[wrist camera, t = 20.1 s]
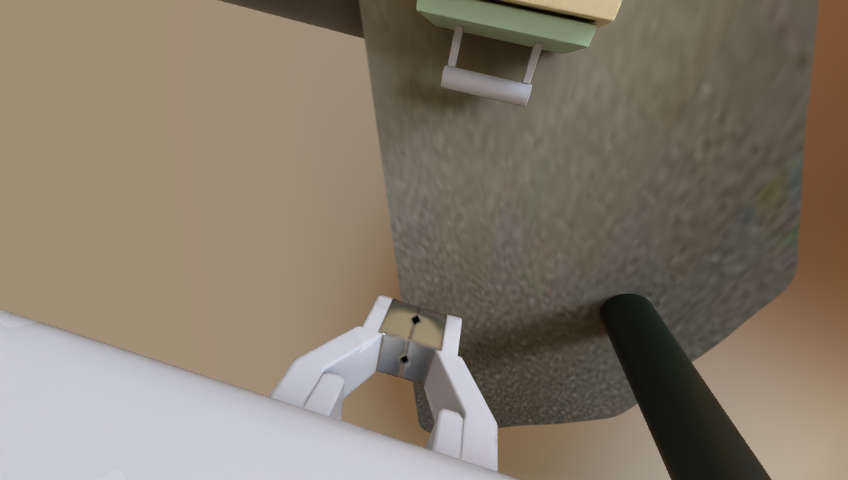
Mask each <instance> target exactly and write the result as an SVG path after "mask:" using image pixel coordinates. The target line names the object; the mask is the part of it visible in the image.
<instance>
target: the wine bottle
mask: <svg viewBox="0 0 848 480" xmlns="http://www.w3.org/2000/svg"><path fill="white" fill-rule="evenodd" d="M600 318H601V320H602V322H603V325H604V327H605V329H606V332H607V334H608V336H609V338H610V341H611V343H612V345H613V348H614V350H615V352H616V354H617V357H618V359H619V361H620V364H621V366H622V368H623V370H624V373H625V375H626V377H627V380H628V382H629V384H630V386H631V389H632V391H633V393H634V395H635V398H636V400H637V402H638V405H639V407H640V409H641V411H642V414H643V416H644V418H645V420H646V423H647V425H648V427H649V430H650V432H651V434H652V436H653V439H654V441H655V443H656V446H657V448H658V450H659V453H660V455H661V457H662V459H663V462H664V464H665V466H666V468H667V471H668V473H669V475H670V478H671V480H771V478H770V477H769V475H768V474H767V473H766V471H765V469H764V468H763V466H762V465H761V464H760V462H759V461H758V459H757V458H756V456H755V455H754V453H753V452H752V450H751V449H750V448H749V446H748V445H747V443H746V442H745V440H744V439H743V437H742V436H741V434H740V433H739V431H738V430H737V428H736V427H735V425H734V424H733V423H732V421H731V420H730V418H729V417H728V415H727V414H726V412H725V411H724V409H723V408H722V407H721V405H720V404H719V402H718V401H717V399H716V398H715V396H714V395H713V393H712V392H711V390H710V389H709V388H708V386H707V385H706V383H705V382H704V380H703V379H702V377H701V376H700V374H699V373H698V372H697V370H696V368H695V367H694V366H693V364H692V363H691V361H690V360H689V358H688V357H687V355H686V354H685V352H684V351H683V349H682V348H681V347H680V345H679V344H678V342H677V341H676V339H675V338H674V336H673V335H672V333H671V332H670V330H669V329H668V328H667V326H666V325H665V323H664V322H663V320H662V319H661V317H660V316H659V314H658V313H657V311H656V310H655V309H654V307H653V306H652V304H651V303H650V302H649V301H648V300H647V299H646V298H644V297H642V296H639V295H635V294H623V295H619V296H616V297H613V298H611V299H609V300H608V301H607V302H606V303H605V304H604V305H603V306H602V308H601V310H600Z"/></svg>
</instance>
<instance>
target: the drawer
mask: <svg viewBox="0 0 848 480" xmlns="http://www.w3.org/2000/svg"><path fill="white" fill-rule="evenodd" d="M494 1H499V2H504V3H509V4H514V5H518V6H523V7H528V8H533V9H537V10H542V11H547V12H552V13H557V14H561V15H566V16H569V15H568V14H564V13H559V12H554V11H549V10H545V9H540V8H535V7H530V6H525V5H521V4H516V3H511V2H506V1H501V0H494ZM416 11H418V12H419V13H420V14H421V15H423V16H424V17H425V18H426V19H427V20H429V21H430V22H431V23H432V24H434V25H435V26H438V27H442V28H447V29H451V30H454V35H453V40H452V45H451V50H450V55H449V60H448V66H447V65H445V67H444V69H443V73H442V78H441V87H442V88H447V89H451V90H455V91H460V92H464V93H468V94H472V95H477V96H481V97H485V98H489V99H494V100H498V101H502V102H507V103H511V104H515V105H519V106H526V104H527V101H528V99H529V96H530V93H531V89H532V85H530V82H531V79H532V76H533V73H534V70H535V67H536V65H537V62H538V59H539V56H540V53H541V50H542V49H543V50H547V51H552V52H557V53H561V54H564V53H568V52H572V51H576V50H579V49H583V48H587V47H588V46H589V44H590V42H591V39H592V37H593V34H594V32H595V29H596V27H597V25H595V24H590V23H585V22H580V21H576V20H571V19H566V18H561V17H557V16H552V15H547V14H542V13H538V12H533V11H528V10H523V9H518V8H514V7H509V6H504V5H499V4H495V3H490V2H485V1H480V0H417V4H416ZM463 32H465V33H470V34H474V35H479V36H483V37H488V38H493V39H497V40H502V41H506V42H511V43H515V44H520V45H525V46H529V47H533V49H532V52H531V55H530V58H529V61H528V65H527V68H526V71H525V74H524V77H523V80H522V83H521V82H517V81H513V80H508V79H504V78H500V77H495V76H491V75H486V74H482V73H478V72H473V71H469V70H464V69H460V68H456V62H457V57H458V53H459V48H460V43H461V39H462V34H463Z"/></svg>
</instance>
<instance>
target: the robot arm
mask: <svg viewBox="0 0 848 480" xmlns="http://www.w3.org/2000/svg"><path fill="white" fill-rule="evenodd" d="M461 324H462V320H461V318H458V317H454V316H451V315H447V314H443V313H440V312H436V311H432V310H429V309H425V308H422V307H418V306H415V305H412V304H409V303H405V302H402V301H399V300H396V299H392V298H389V297H386V296H383V295H379V296H378V297H377V299H376V301H375V303H374V305H373V307H372V309H371V311H370V312H369V314H368V316H367V318H366V320H365V322H364V324H363V326H362V327H359V326H357V327H355V328H353V329H351V330H350V331H347V332H346V333H344V334H342V335H340V336H339V337H336V338H334V339H333V340H331V341H329V342H327V343H325V344H323V345H321V346H320V347H318V348H316V349H314V350H312V351H310V352H308V353H306V354H305V355H303V356H301V357H299V358H297V359H295V360H294V361H293V363H292V364H291V366H290V367H289V369H288V370H287V372H286V373H285V374H284V376H283V377H282V379H281V380H280V382H279V383H278V384H277V386H276V387H275V389H274V390H273V392H272V393H271V394H270V396H269V397H268V396H265V395H262V394H259V393H256V392H252V391H250V390H246V389H243V388H240V387H237V386H234V385H231V384H228V383H225V382H222V381H219V380H216V379H213V378H209V377H207V376H204V375H201V374H198V373H194V372H192V371H188V370H185V369H182V368H179V367H176V366H173V365H170V364H167V363H164V362H161V361H158V360H155V359H152V358H148V357H146V356H143V355H140V354H137V353H134V352H131V351H127V350H124V349H121V348H118V347H115V346H112V345H109V344H106V343H103V342H100V341H97V340H94V339H91V338H88V337H85V336H82V335H78V334H76V333H72V332H70V331H67V330H63V329H61V328H57V327H54V326H51V325H48V324H45V323H42V322H39V321H36V320H33V319H30V318H27V317H24V316H21V315H18V314H15V313H12V312H9V311H6V310H3V309H0V480H521V479H518V478H515V477H512V476H509V475H506V474H503V473H500V472H498V455H497V454H498V451H497V450H498V449H497V423H496V421H495V419H494V417H493V415H492V413H491V411H490V410H489V408H488V406H487V404H486V402H485V400H484V398H483V396H482V395H481V393H480V391H479V389H478V387H477V385H476V383H475V381H474V380H473V378H472V376H471V374H470V372H469V370H468V368H467V366H466V364H465V363H464V361H463V359H462V357H459V356H458V348H459V340H460V332H461ZM376 371H379V372H382V373H386V374H389V375H393V376H397V377H400V378H403V379H406V380H409V381H412V382H414V383H417V384H420V385H423V386H424V389H425V392H426V395H427V399H428V402H429V405H430V409H431V412H432V415H433V419H434V422H435V424H434V427H433V429H432V432H431V434H430V437H429V439H428V442H427V444H426V447H425V448H424V447H420V446H417V445H414V444H411V443H408V442H405V441H402V440H399V439H396V438H393V437H390V436H387V435H384V434H381V433H378V432H375V431H372V430H368V429H366V428H362V427H359V426H356V425H353V424H350V423H347V422H344V421H341V416H342V404H343V399H344V398H345V397H346V396H347V395H348V394H350V393H351V392H352V391H353V390H354V389H356V388H357V387H358V386H359V385H361V384H362V383H363V382H364V381H365V380H367V379H368V378H369V377H370V376H371V375H373V374H374V373H375V372H376Z"/></svg>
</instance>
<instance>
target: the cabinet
mask: <svg viewBox="0 0 848 480" xmlns="http://www.w3.org/2000/svg"><path fill="white" fill-rule="evenodd" d="M480 1H485V2H490V3H495V4H499V5H504V6H509V7H514V8H518V9H523V10H528V11H533V12H538V13H542V14H547V15H552V16H557V17H561V18H566V19H571V20H576V21H580V22H585V23H590V24H595V25H597V27H596V28H599V27H601V26H603V25H606V24H608V23H610V22H612V21H614V19H615V17H616V14H617V12H618V9H619V7H620V5H621V2H622V0H501V1H506V2H511V3H516V4H521V5H525V6H530V7H535V8H540V9H545V10H549V11H554V12H559V13H564V14H568V15H569V16H566V15H561V14H557V13H552V12H547V11H542V10H537V9H533V8H528V7H523V6H518V5H514V4H509V3H504V2H499V1H494V0H480Z"/></svg>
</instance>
